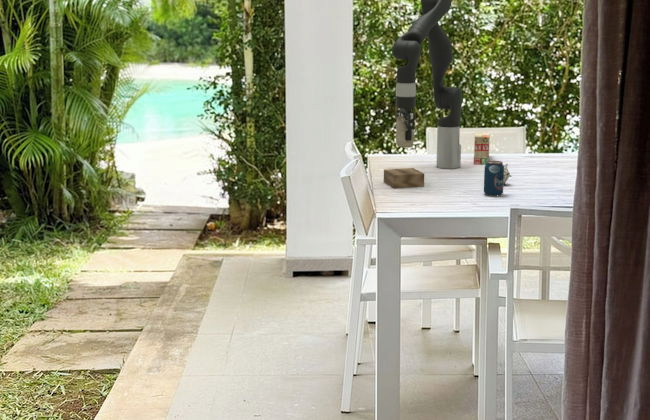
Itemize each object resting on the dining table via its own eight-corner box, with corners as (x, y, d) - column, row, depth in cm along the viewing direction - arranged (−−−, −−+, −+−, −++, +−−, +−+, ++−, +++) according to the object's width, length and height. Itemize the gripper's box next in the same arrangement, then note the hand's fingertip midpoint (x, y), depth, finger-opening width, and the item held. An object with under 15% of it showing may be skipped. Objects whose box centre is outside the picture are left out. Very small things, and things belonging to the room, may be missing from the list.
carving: (417, 147, 365) (418, 115, 362) (405, 149, 359) (405, 117, 356) (404, 145, 369) (405, 114, 366) (392, 147, 363) (392, 116, 361)
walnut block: (412, 180, 375) (413, 167, 373) (424, 186, 363) (424, 173, 362) (383, 182, 371) (383, 169, 370) (394, 188, 360) (394, 175, 359)
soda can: (498, 197, 345) (499, 164, 342) (480, 195, 348) (481, 162, 346) (505, 193, 350) (507, 161, 348) (488, 191, 354) (489, 159, 351)
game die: (502, 193, 369) (518, 172, 368) (499, 189, 361) (515, 168, 360) (483, 180, 372) (499, 159, 371) (480, 176, 364) (496, 154, 363)
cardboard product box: (474, 156, 429) (475, 128, 426) (488, 156, 428) (489, 129, 425) (473, 164, 408) (474, 136, 405) (488, 165, 407) (489, 136, 404)
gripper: (422, 96, 354) (421, 141, 358) (408, 92, 367) (407, 135, 371) (403, 97, 352) (402, 142, 356) (389, 93, 365) (389, 136, 369)
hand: (405, 138), depth 363 cm, fingers closed on carving, 6 cm apart
